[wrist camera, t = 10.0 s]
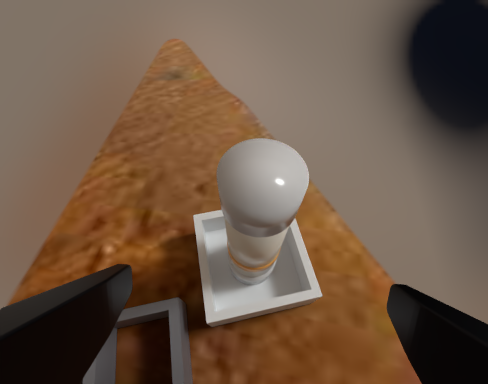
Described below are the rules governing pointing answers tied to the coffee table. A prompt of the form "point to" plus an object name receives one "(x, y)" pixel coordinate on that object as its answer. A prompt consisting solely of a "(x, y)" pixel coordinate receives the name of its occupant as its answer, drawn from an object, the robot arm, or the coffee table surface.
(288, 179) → the white bulb-shaped piece
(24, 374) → the robot arm
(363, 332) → the coffee table surface
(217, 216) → the tray
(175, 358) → the grey square frame
